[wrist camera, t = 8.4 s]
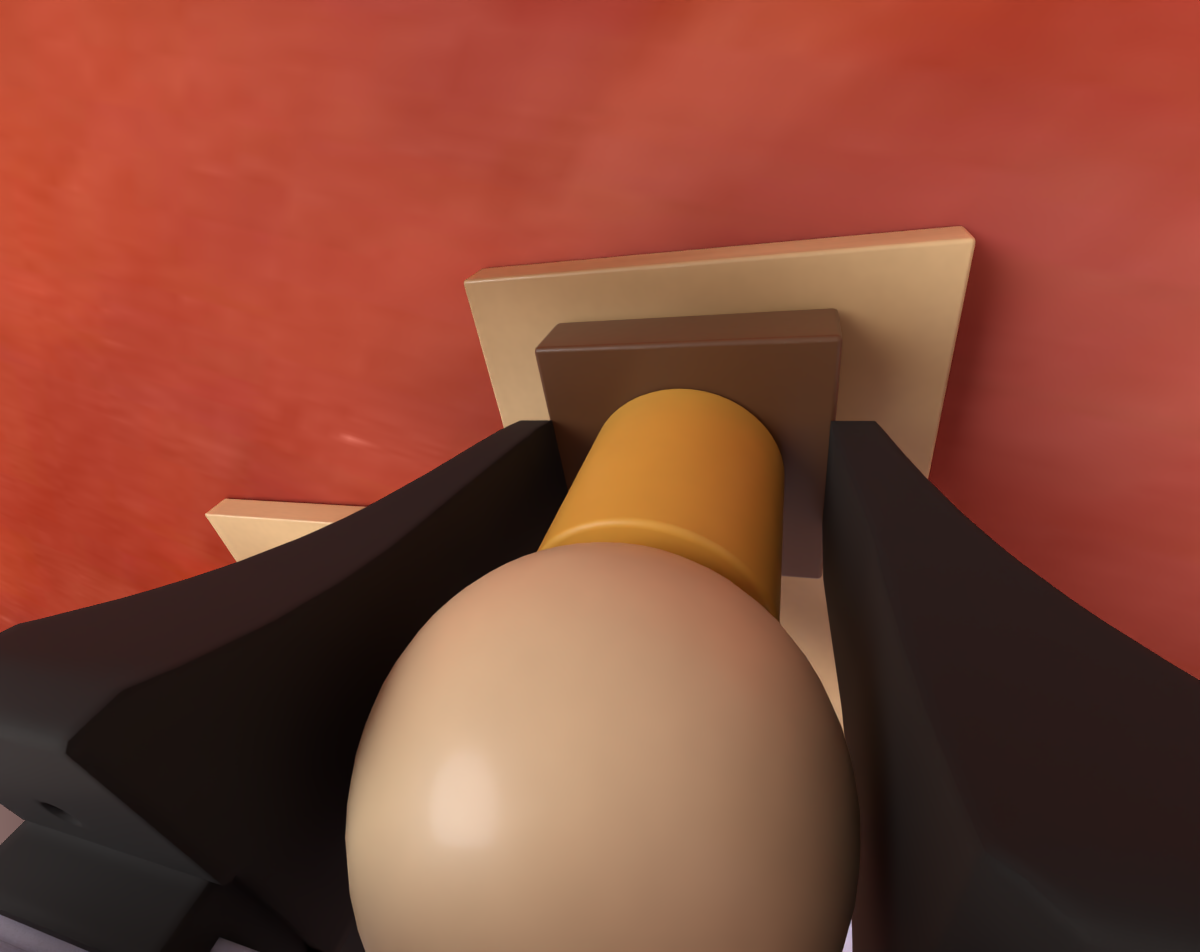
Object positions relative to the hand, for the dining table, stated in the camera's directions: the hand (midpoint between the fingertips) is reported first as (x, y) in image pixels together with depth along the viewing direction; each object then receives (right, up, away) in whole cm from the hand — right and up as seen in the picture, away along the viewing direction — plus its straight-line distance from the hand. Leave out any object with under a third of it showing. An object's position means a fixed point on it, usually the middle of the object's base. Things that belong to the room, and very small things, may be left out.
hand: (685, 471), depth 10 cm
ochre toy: (0, -4, -1) cm, 4 cm away
